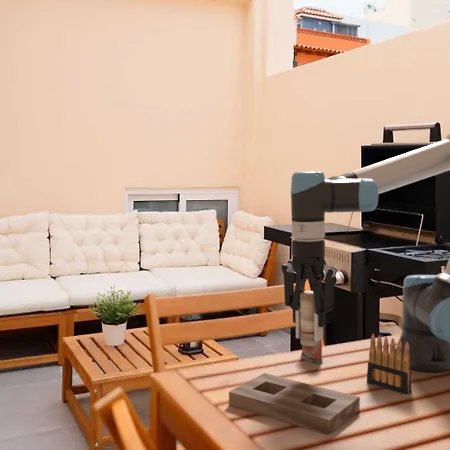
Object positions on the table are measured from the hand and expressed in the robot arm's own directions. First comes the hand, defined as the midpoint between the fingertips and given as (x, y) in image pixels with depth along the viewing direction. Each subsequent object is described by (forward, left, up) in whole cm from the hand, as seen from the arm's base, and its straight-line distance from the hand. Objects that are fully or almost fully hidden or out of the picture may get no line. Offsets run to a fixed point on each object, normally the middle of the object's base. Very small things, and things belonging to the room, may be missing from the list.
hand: (309, 338), depth 141 cm
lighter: (-17, -8, -12) cm, 22 cm away
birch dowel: (0, 0, -1) cm, 1 cm away
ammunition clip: (-10, +16, -12) cm, 22 cm away
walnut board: (+13, +4, -11) cm, 18 cm away
